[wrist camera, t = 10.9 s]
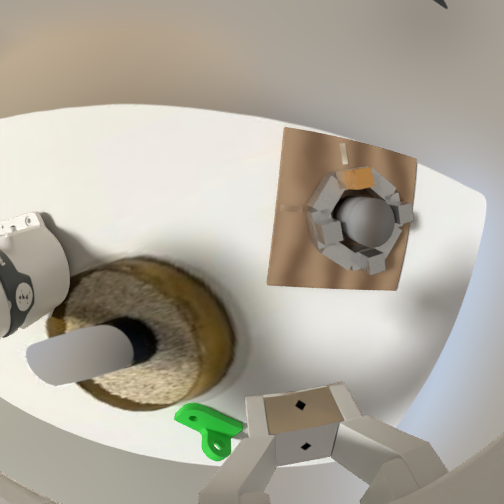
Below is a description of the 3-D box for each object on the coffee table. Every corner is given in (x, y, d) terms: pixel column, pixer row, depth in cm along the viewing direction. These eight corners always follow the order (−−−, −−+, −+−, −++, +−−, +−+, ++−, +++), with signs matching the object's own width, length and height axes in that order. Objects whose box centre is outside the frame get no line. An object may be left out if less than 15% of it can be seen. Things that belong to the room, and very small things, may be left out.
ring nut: (298, 179, 35) (310, 178, 29) (382, 163, 35) (405, 161, 29) (317, 273, 38) (331, 288, 33) (394, 249, 39) (416, 259, 33)
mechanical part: (242, 422, 47) (244, 452, 39) (224, 435, 48) (225, 464, 40) (191, 398, 44) (187, 429, 36) (175, 412, 45) (170, 442, 37)
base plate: (266, 282, 40) (275, 305, 32) (283, 128, 34) (297, 114, 27) (392, 288, 42) (419, 307, 34) (413, 159, 37) (444, 157, 29)
